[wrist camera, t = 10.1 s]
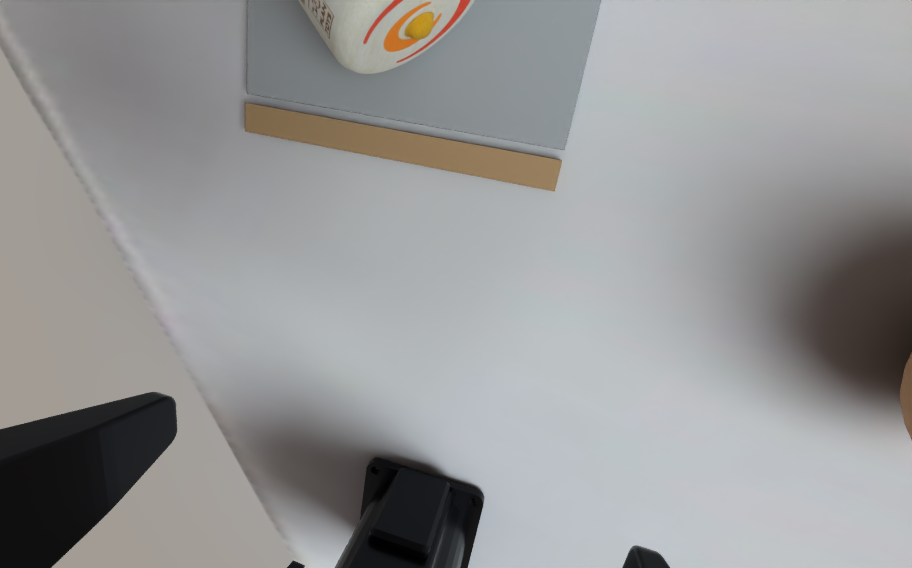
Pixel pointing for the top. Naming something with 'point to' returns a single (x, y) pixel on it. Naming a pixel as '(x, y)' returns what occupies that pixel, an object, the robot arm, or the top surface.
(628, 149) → the top surface
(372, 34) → the roller toy
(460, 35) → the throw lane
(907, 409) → the egg
